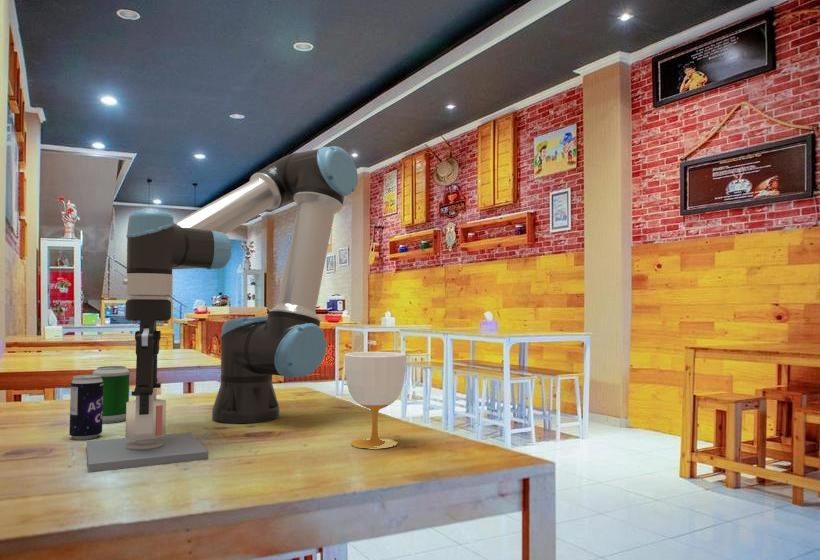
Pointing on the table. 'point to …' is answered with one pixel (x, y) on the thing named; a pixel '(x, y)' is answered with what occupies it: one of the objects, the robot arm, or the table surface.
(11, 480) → the table surface
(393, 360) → the cup
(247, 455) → the table surface
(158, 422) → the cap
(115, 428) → the table surface
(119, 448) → the flat gray rectangular base
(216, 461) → the table surface
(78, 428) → the beverage can
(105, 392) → the soda can
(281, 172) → the robot arm
